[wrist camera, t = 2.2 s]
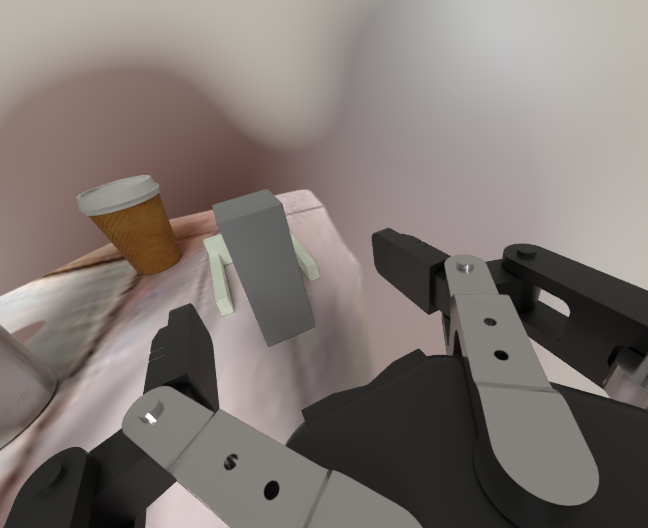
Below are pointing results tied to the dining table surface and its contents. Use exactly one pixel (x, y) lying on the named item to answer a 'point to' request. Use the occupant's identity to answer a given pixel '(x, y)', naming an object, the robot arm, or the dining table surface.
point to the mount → (222, 257)
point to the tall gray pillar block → (266, 263)
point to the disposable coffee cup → (133, 222)
